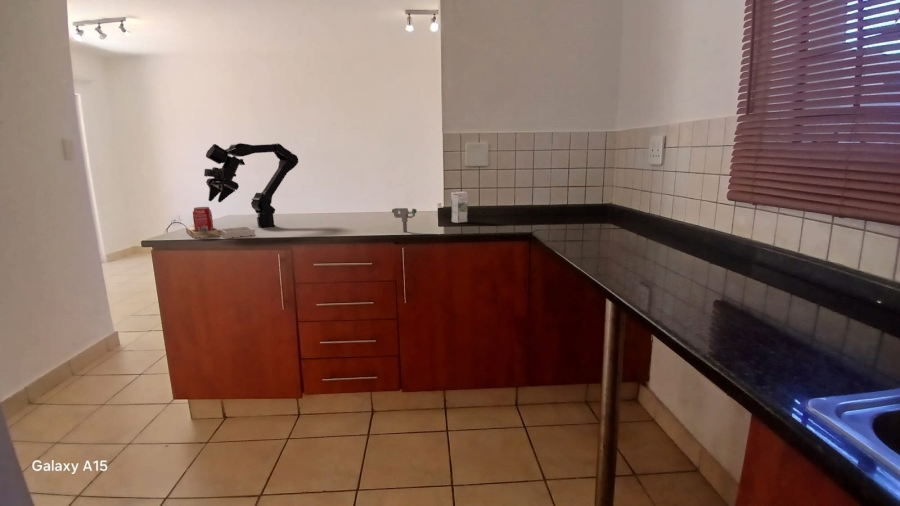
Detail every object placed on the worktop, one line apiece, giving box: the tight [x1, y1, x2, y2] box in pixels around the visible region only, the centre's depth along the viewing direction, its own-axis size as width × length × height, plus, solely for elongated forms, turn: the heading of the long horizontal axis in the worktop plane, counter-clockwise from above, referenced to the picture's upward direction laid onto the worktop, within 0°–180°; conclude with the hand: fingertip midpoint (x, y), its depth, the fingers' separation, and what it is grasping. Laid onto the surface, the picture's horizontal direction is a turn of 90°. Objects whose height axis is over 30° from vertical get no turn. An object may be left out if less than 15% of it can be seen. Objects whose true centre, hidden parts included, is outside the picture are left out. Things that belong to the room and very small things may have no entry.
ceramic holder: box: [218, 226, 256, 239], centre depth 198 cm, size 12×12×2 cm
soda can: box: [192, 206, 214, 232], centre depth 197 cm, size 7×7×12 cm
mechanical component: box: [391, 207, 418, 233], centre depth 197 cm, size 3×10×10 cm, turn 78°
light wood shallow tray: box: [185, 226, 220, 239], centre depth 202 cm, size 10×20×2 cm, turn 37°
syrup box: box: [450, 190, 469, 224], centre depth 222 cm, size 6×6×14 cm
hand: (214, 201), depth 202 cm, fingers open, 9 cm apart
